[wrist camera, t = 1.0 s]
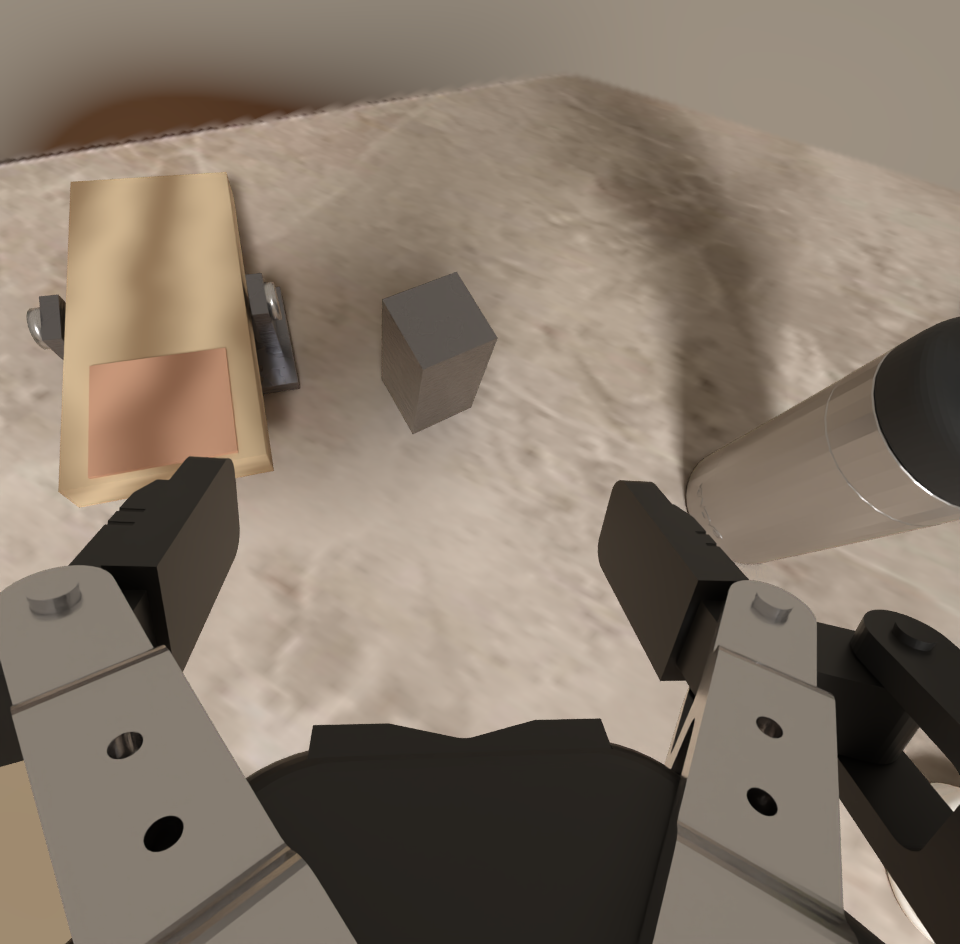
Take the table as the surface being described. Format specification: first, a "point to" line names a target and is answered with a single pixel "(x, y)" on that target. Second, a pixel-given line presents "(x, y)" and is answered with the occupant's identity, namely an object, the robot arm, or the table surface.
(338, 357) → the table surface
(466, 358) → the block
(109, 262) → the seesaw plank
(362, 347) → the table surface
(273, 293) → the seesaw stand
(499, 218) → the table surface
